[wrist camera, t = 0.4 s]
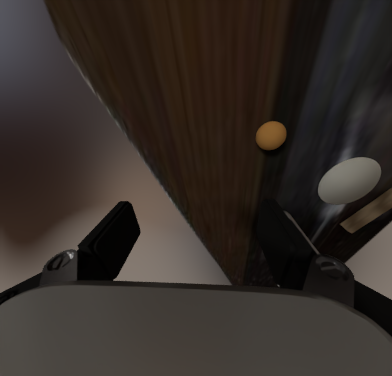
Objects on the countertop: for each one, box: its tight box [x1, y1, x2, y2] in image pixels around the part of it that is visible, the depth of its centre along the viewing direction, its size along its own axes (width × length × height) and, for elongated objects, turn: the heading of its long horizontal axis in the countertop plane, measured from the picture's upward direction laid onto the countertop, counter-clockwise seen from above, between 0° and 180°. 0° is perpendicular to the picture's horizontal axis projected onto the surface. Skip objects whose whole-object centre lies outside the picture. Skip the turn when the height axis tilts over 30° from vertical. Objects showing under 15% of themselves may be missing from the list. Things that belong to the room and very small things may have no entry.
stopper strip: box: [340, 188, 392, 233], centre depth 37 cm, size 20×2×2 cm, turn 153°
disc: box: [318, 157, 381, 205], centre depth 36 cm, size 13×13×1 cm
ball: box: [256, 121, 286, 150], centre depth 29 cm, size 6×6×6 cm
